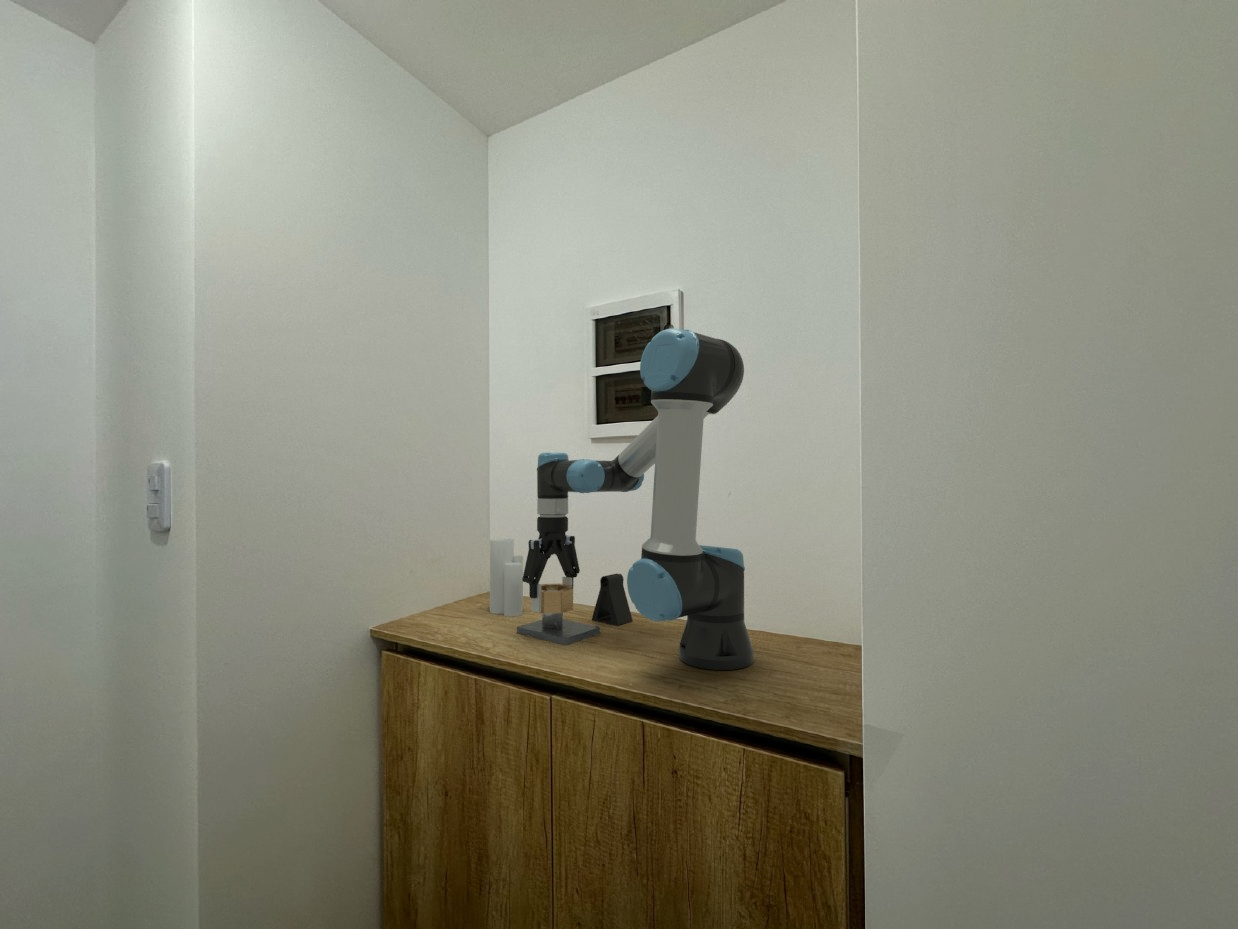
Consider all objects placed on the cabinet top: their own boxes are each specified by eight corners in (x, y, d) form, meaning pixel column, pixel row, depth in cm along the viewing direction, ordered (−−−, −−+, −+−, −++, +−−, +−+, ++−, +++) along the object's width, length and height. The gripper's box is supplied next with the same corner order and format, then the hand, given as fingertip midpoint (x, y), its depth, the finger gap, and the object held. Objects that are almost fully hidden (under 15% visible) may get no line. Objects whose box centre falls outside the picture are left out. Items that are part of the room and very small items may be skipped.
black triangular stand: (591, 620, 146) (591, 574, 146) (606, 616, 151) (606, 571, 151) (617, 626, 140) (617, 578, 140) (632, 621, 145) (632, 575, 145)
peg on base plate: (599, 633, 134) (599, 591, 134) (565, 645, 124) (565, 599, 124) (552, 623, 143) (552, 583, 144) (517, 633, 134) (517, 591, 134)
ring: (581, 607, 136) (581, 587, 136) (552, 615, 128) (552, 593, 128) (551, 601, 142) (552, 582, 142) (522, 609, 134) (522, 588, 134)
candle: (484, 612, 155) (484, 540, 156) (503, 607, 161) (503, 538, 162) (513, 617, 149) (514, 542, 150) (532, 612, 155) (532, 540, 156)
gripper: (572, 512, 147) (572, 597, 146) (506, 517, 129) (506, 614, 129) (594, 514, 142) (593, 601, 142) (529, 519, 124) (528, 619, 124)
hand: (552, 607), depth 135 cm, fingers closed on ring, 10 cm apart
